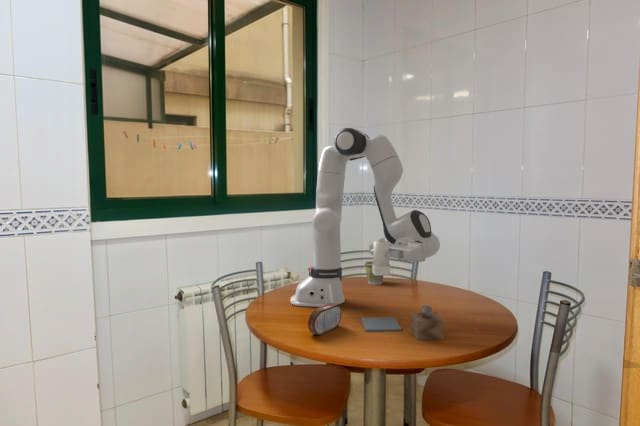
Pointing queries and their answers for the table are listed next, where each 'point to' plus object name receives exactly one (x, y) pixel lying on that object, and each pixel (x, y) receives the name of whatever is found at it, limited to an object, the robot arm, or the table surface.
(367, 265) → the ceramic cup
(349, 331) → the table surface
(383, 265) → the white tapered tower
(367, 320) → the mat
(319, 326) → the tin
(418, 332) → the post plinth
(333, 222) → the robot arm
